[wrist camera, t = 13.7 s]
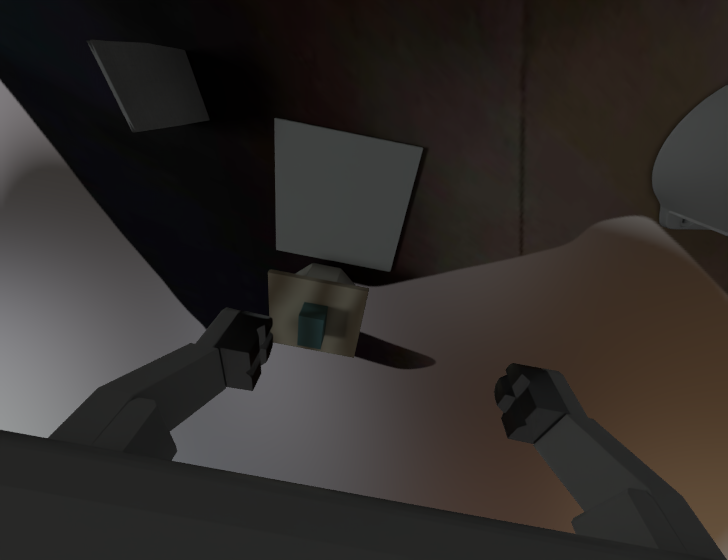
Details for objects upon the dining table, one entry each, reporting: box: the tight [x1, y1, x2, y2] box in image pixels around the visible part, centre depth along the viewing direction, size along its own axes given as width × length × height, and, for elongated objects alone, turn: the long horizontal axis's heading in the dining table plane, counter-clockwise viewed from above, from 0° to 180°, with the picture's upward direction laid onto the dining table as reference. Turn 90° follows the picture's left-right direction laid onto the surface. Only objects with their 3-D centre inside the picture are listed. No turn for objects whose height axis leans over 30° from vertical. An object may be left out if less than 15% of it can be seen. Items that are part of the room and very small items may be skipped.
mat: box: [274, 118, 423, 272], centre depth 39 cm, size 18×18×1 cm
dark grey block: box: [87, 40, 210, 132], centre depth 29 cm, size 4×7×10 cm, turn 6°
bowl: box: [296, 263, 355, 286], centre depth 46 cm, size 11×11×6 cm
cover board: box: [268, 269, 369, 358], centre depth 42 cm, size 14×14×4 cm
